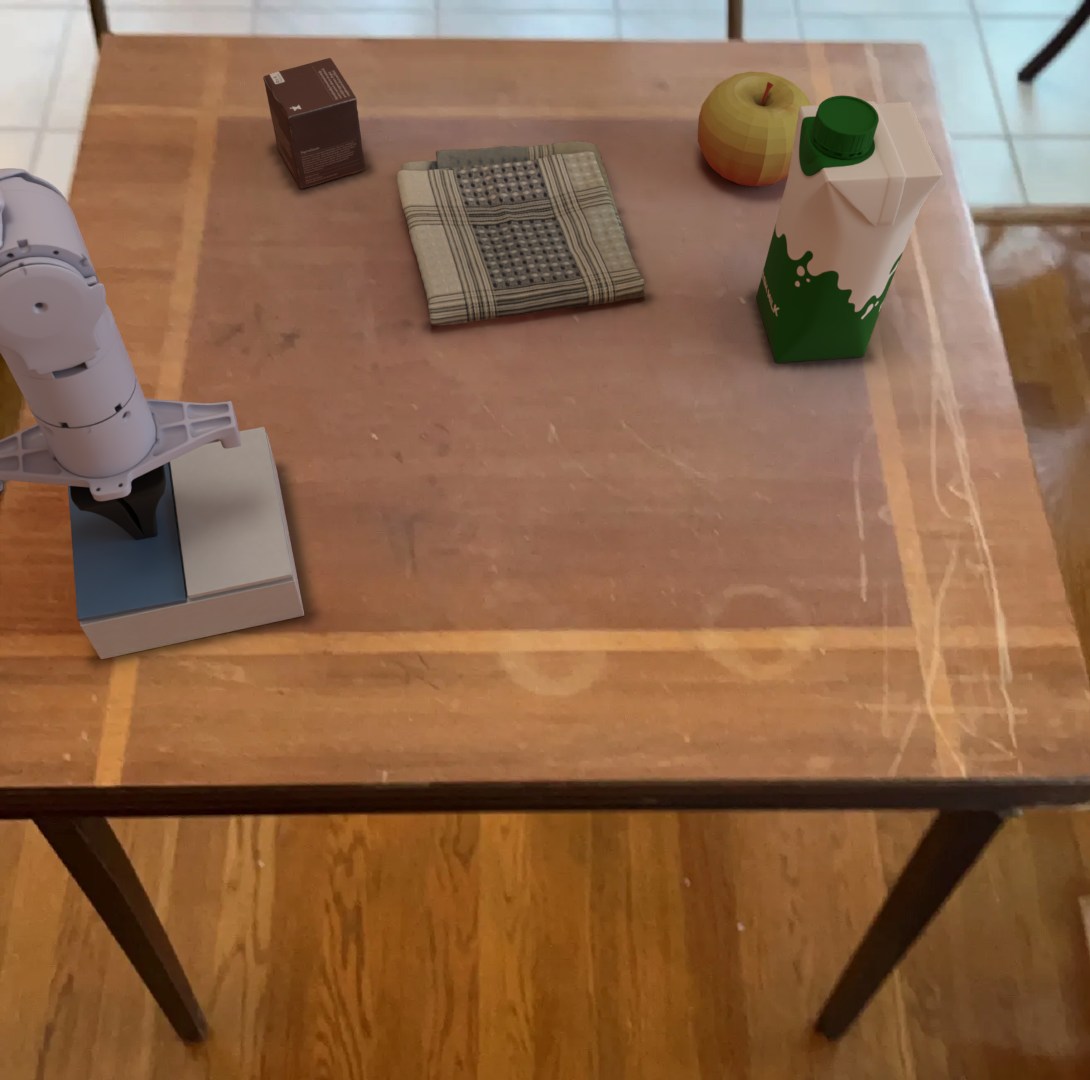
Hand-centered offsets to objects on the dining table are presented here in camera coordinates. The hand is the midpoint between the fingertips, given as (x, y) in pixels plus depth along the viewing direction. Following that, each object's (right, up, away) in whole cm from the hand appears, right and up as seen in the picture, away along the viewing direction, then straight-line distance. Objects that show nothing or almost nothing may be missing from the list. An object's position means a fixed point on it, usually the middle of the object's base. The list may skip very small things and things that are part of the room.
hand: (145, 525), depth 74 cm
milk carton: (+46, +16, +18) cm, 52 cm away
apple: (+43, +32, +28) cm, 61 cm away
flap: (-1, 0, 0) cm, 1 cm away
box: (+6, +32, +27) cm, 42 cm away
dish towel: (+23, +24, +23) cm, 40 cm away
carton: (+2, -2, +5) cm, 5 cm away
